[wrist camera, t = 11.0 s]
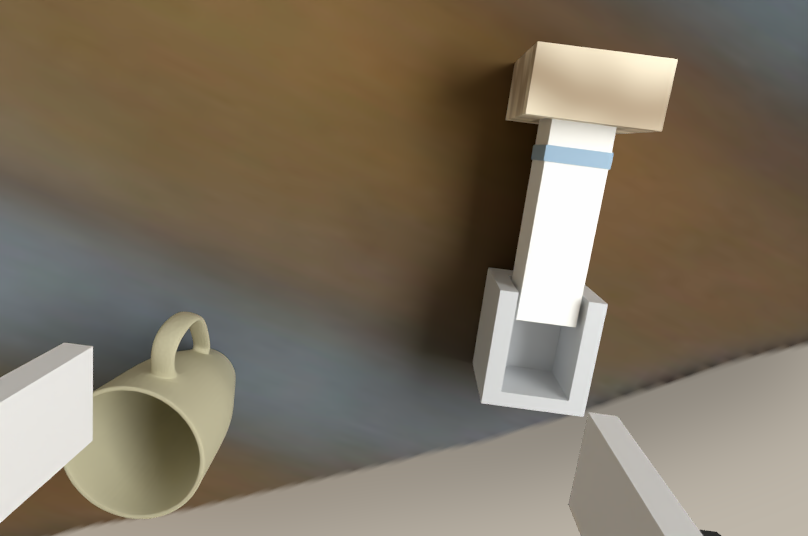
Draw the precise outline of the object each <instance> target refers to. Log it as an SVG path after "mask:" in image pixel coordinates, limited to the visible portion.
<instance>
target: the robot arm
mask: <svg viewBox="0 0 808 536" xmlns="http://www.w3.org/2000/svg"><path fill="white" fill-rule="evenodd" d="M92 441H93V346H86V345H79V344H71V343H63V344H61V345H59V346H57V347H55V348H53V349H52V350H50V351H48V352H46V353H44V354H42V355H41V356H39V357H37V358H35V359H33V360H31V361H30V362H28V363H26V364H24V365H22V366H20V367H19V368H17V369H15V370H13V371H11V372H9V373H8V374H6V375H4V376H2V377H0V523H1V522H2V521H3V520H4V519H5V518H6V517H7V516H8V515H10V514H11V513H12V512H13V511H14V510H15V509H16V508H17V507H19V506H20V505H21V504H22V503H23V502H24V501H25V500H26V499H28V498H29V497H30V496H31V495H32V494H33V493H34V492H35V491H37V490H38V489H39V488H40V487H41V486H42V485H43V484H44V483H46V482H47V481H48V480H49V479H50V478H51V477H52V476H53V475H55V474H56V473H57V472H58V471H59V470H60V469H61V468H62V467H64V466H65V465H66V464H67V463H68V462H69V461H70V460H71V459H73V458H74V457H75V456H76V455H77V454H78V453H79V452H80V451H82V450H83V449H84V448H85V447H86V446H87V445H88V444H89V443H91V442H92ZM568 505H569V507H570V510H571V512H572V515H573V517H574V519H575V522H576V525H577V527H578V530H579V532H580V534H581V536H721V535H719V534H718V533H717V532H712V531H705V530H699V529H698V528H697V526H696V525H695V524H694V522H693V521H692V519H691V518H690V517H689V515H688V514H687V512H686V511H685V510H684V508H683V507H682V505H681V504H680V503H679V501H678V500H677V498H676V497H675V496H674V494H673V493H672V492H671V490H670V489H669V487H668V486H667V484H666V483H665V482H664V480H663V479H662V477H661V476H660V475H659V473H658V472H657V471H656V469H655V468H654V466H653V465H652V463H651V462H650V461H649V459H648V458H647V457H646V455H645V454H644V452H643V451H642V450H641V448H640V447H639V445H638V444H637V443H636V441H635V440H634V438H633V437H632V436H631V434H630V433H629V432H628V430H627V429H626V427H625V426H624V424H623V423H622V422H621V420H620V419H619V417H617V416H612V415H605V414H597V413H590V412H588V417H587V421H586V426H585V431H584V435H583V440H582V445H581V450H580V454H579V458H578V463H577V468H576V472H575V477H574V481H573V486H572V491H571V495H570V500H569V504H568Z"/></svg>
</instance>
